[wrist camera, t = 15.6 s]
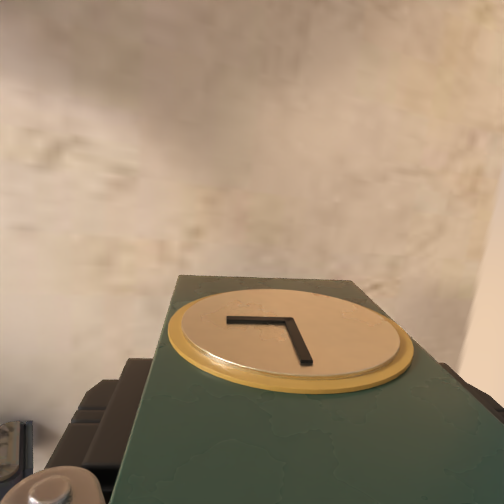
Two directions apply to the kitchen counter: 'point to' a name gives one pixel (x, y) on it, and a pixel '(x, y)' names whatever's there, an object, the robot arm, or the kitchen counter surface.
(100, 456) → the robot arm
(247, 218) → the kitchen counter surface
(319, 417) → the clock
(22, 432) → the handgun
